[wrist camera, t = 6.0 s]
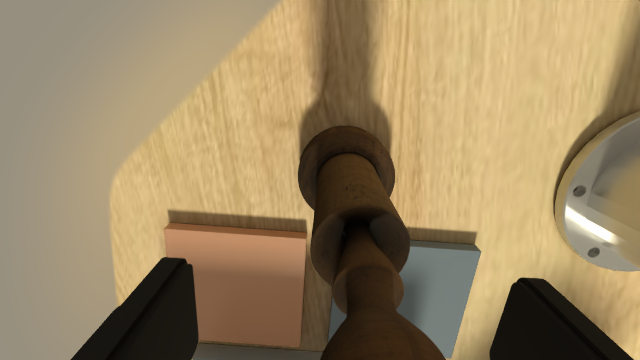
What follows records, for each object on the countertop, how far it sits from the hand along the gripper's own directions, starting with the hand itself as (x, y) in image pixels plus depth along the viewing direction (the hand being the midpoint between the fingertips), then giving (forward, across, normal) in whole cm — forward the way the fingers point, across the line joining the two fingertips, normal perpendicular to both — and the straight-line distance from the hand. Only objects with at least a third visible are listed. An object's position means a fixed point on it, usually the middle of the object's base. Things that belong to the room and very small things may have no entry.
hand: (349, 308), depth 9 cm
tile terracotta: (+14, +7, +11) cm, 19 cm away
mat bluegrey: (+14, -6, +11) cm, 19 cm away
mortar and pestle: (+14, -1, 0) cm, 14 cm away
